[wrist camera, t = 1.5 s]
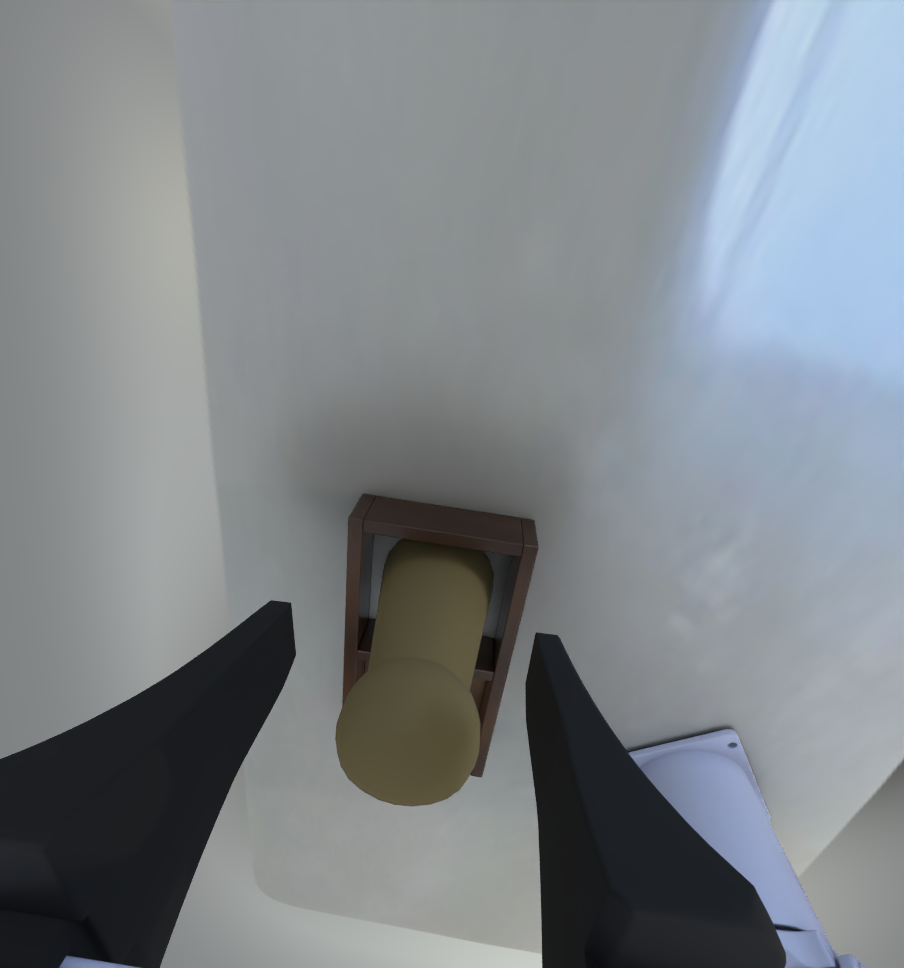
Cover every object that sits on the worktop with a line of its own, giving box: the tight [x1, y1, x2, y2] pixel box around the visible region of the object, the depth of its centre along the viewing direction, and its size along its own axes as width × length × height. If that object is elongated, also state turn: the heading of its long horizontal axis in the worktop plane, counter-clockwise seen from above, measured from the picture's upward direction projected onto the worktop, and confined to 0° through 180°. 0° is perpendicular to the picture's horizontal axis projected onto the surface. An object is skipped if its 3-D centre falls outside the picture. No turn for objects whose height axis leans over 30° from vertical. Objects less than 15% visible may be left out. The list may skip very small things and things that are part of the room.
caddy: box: [342, 494, 538, 777], centre depth 26 cm, size 17×9×2 cm, turn 173°
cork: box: [336, 539, 494, 806], centre depth 20 cm, size 6×6×11 cm
